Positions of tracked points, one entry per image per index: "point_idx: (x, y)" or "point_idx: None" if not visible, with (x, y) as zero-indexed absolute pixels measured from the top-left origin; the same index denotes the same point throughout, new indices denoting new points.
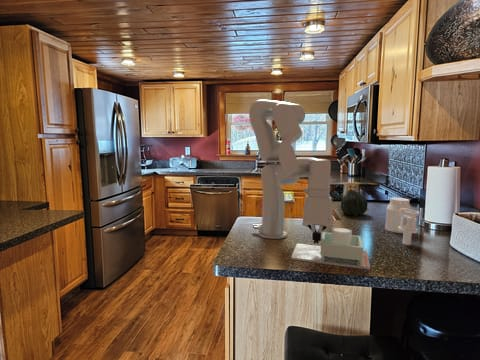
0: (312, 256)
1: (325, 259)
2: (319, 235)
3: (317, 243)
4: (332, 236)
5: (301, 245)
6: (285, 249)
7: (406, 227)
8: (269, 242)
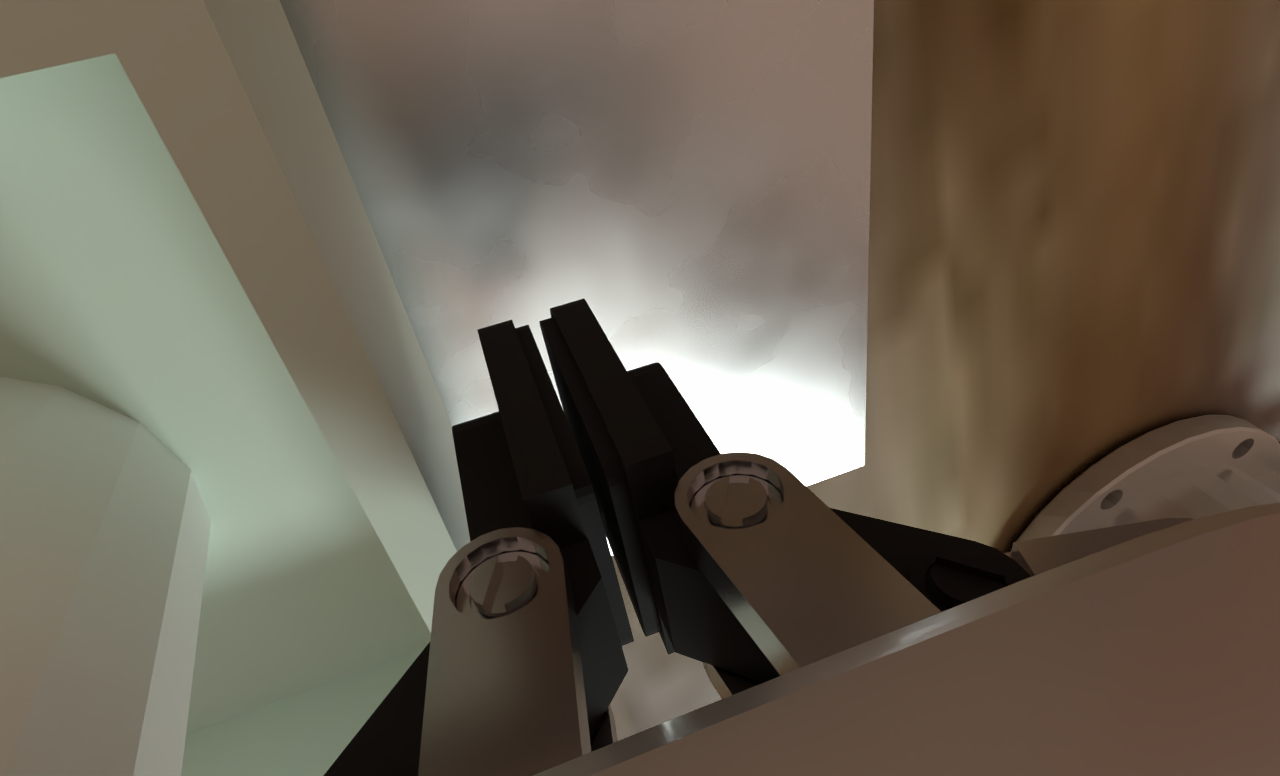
0: (493, 41)
1: None
2: (503, 498)
3: (497, 324)
4: (129, 673)
5: (796, 435)
6: (976, 211)
7: None
8: (1166, 328)
